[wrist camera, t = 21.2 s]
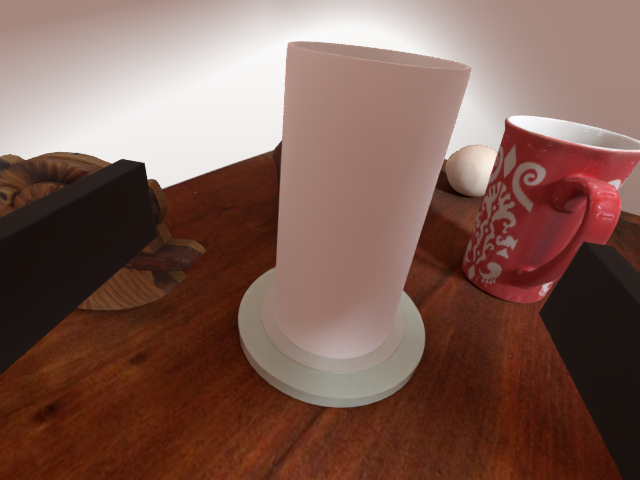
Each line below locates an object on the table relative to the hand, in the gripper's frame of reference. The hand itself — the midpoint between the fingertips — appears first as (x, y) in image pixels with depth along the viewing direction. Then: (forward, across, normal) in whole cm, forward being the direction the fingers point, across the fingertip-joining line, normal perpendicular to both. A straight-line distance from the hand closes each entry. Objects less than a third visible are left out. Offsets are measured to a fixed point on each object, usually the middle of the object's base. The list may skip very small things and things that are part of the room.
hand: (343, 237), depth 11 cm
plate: (+9, 0, -13) cm, 15 cm away
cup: (+9, 0, -12) cm, 15 cm away
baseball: (+38, +14, -13) cm, 43 cm away
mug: (+17, +14, -13) cm, 26 cm away
